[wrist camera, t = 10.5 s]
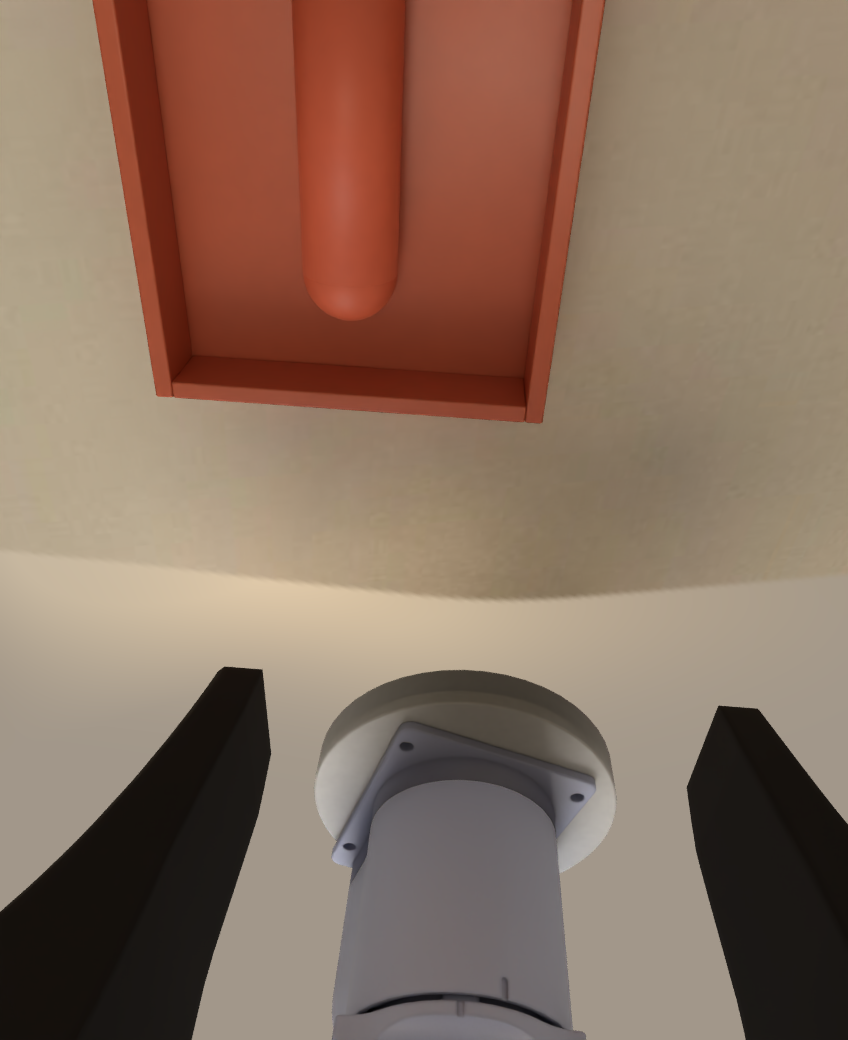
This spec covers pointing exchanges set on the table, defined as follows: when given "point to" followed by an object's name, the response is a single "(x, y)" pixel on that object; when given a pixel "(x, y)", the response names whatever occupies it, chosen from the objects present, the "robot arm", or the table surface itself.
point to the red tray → (422, 214)
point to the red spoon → (349, 150)
